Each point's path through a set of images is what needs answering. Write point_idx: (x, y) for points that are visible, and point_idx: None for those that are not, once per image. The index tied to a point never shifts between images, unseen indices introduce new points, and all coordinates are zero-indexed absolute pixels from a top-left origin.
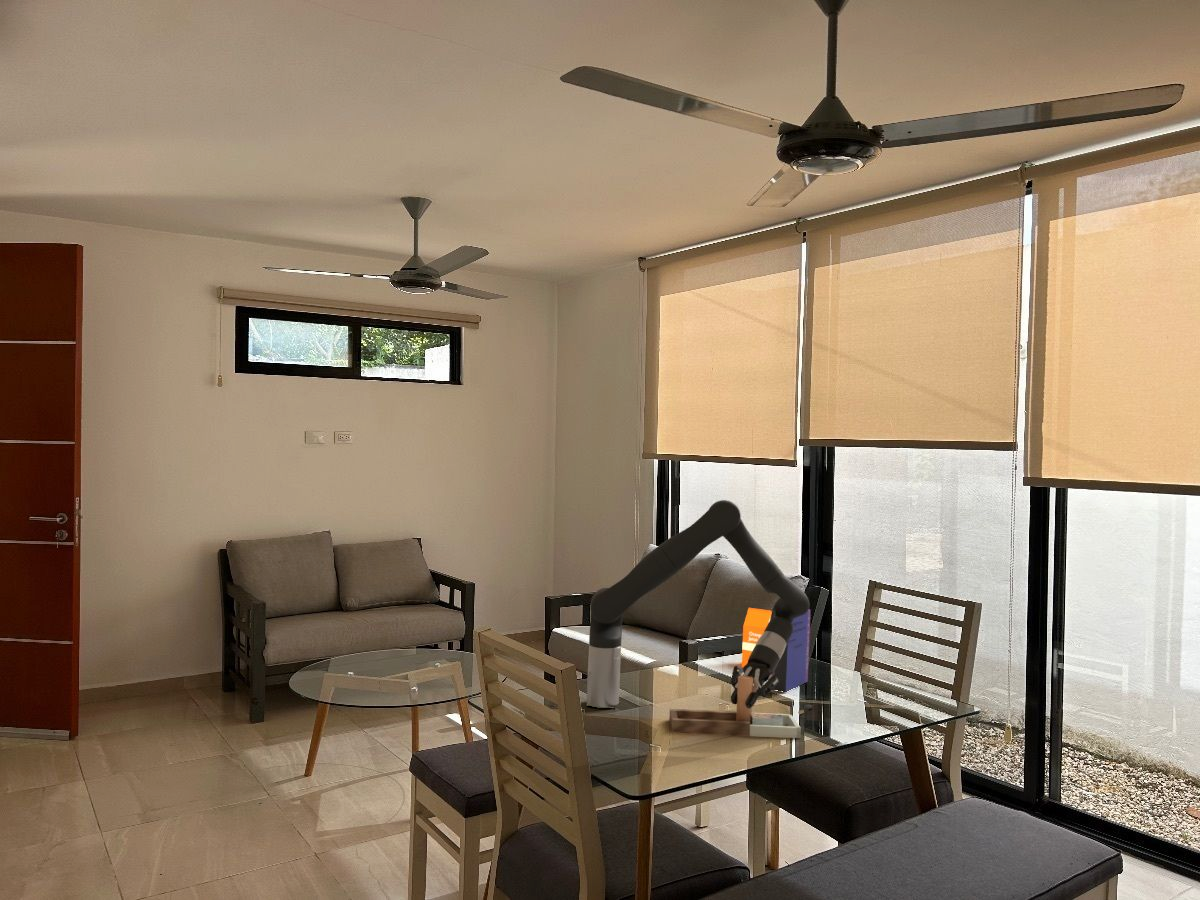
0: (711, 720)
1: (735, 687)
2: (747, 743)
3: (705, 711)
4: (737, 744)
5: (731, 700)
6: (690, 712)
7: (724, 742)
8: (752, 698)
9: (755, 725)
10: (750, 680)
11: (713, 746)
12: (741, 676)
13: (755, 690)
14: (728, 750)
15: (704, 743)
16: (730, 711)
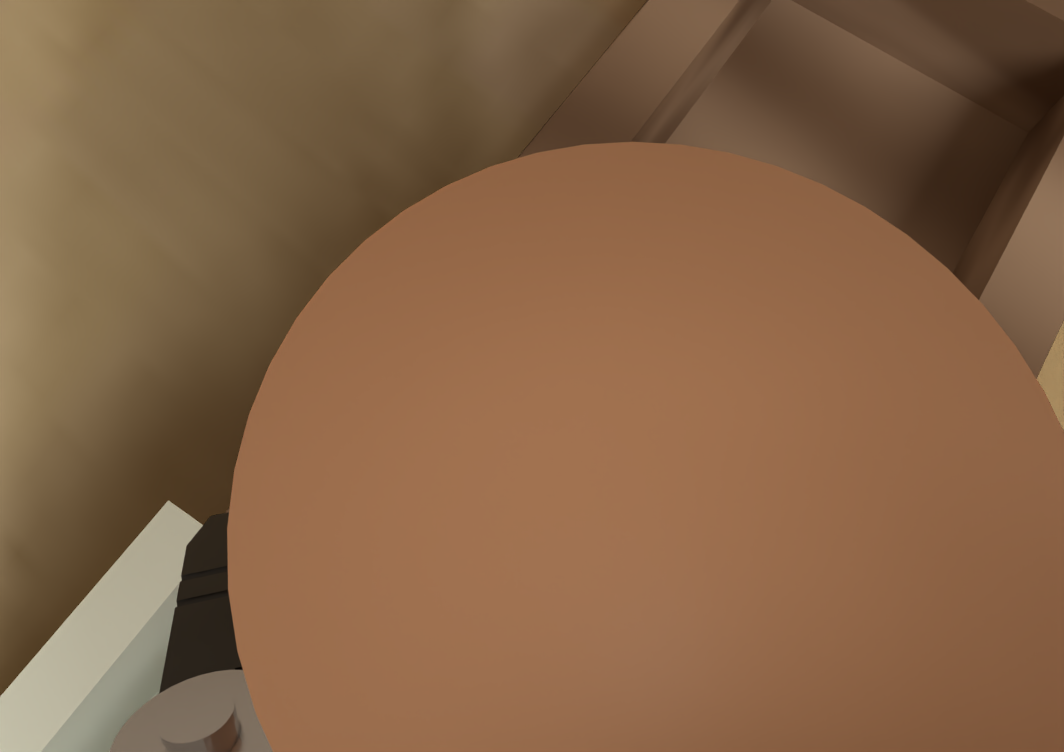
0: (599, 138)
1: None
2: (141, 424)
3: None
4: (189, 298)
5: None
6: (1034, 179)
7: (324, 224)
8: (211, 603)
9: (131, 591)
10: (247, 486)
11: (292, 57)
12: (929, 440)
13: (168, 746)
14: (111, 94)
15: (410, 46)
16: None
